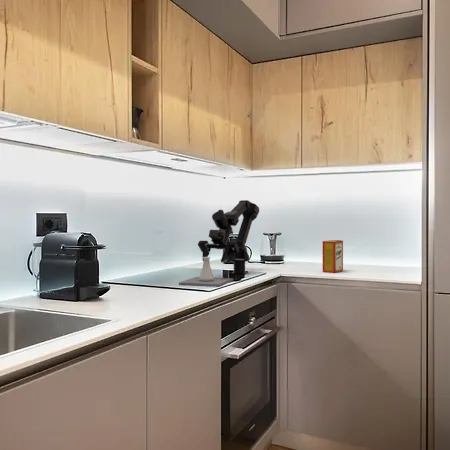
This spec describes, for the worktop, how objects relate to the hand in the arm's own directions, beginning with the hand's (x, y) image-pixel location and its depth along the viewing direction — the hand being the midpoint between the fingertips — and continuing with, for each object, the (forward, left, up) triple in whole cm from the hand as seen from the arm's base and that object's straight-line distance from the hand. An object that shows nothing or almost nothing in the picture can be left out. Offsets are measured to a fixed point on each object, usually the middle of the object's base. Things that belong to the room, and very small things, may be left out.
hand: (212, 261), depth 206 cm
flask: (+5, -1, -8) cm, 9 cm away
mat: (+5, -1, -9) cm, 10 cm away
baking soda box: (-48, +46, -9) cm, 67 cm away
